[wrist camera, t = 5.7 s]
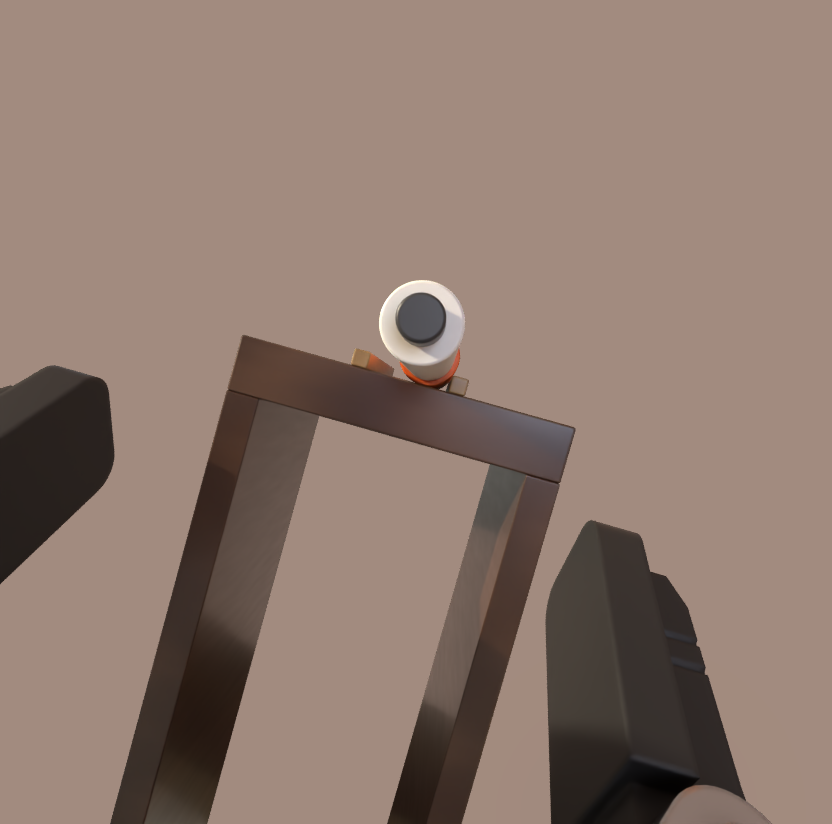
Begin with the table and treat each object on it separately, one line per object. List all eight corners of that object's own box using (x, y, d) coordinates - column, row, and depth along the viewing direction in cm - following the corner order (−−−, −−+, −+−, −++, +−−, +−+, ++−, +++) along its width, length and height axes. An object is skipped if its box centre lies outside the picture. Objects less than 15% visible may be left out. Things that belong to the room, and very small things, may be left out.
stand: (13, 1179, 21) (245, 317, 19) (162, 907, 32) (315, 347, 30) (327, 1285, 20) (581, 411, 19) (367, 973, 31) (529, 406, 30)
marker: (401, 370, 28) (429, 337, 28) (434, 398, 28) (463, 365, 28) (340, 324, 11) (413, 236, 11) (427, 397, 11) (500, 310, 11)
